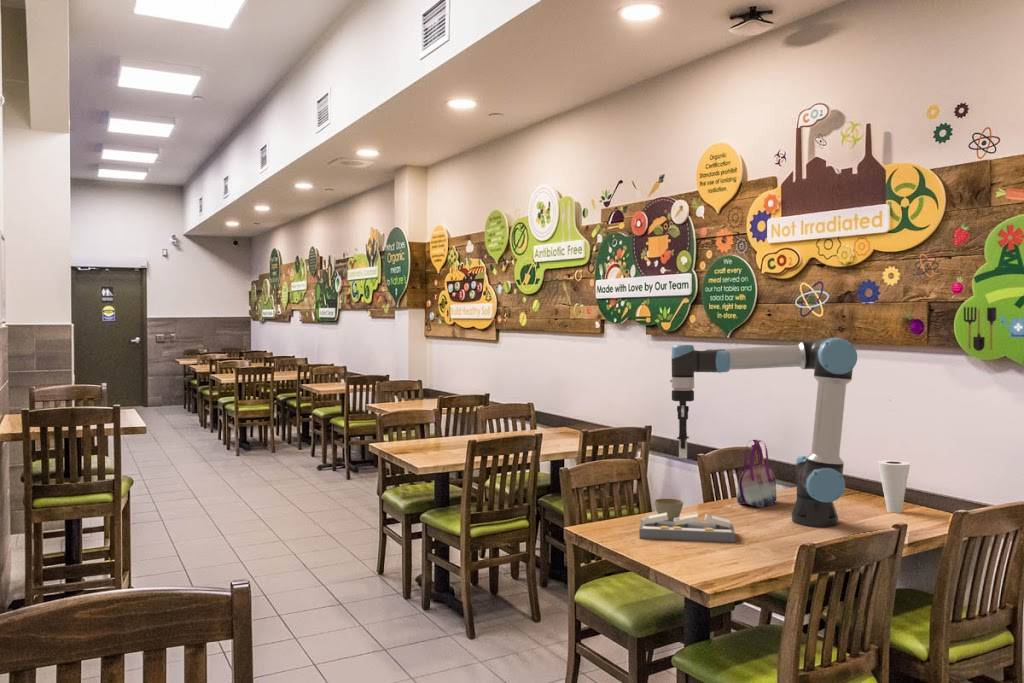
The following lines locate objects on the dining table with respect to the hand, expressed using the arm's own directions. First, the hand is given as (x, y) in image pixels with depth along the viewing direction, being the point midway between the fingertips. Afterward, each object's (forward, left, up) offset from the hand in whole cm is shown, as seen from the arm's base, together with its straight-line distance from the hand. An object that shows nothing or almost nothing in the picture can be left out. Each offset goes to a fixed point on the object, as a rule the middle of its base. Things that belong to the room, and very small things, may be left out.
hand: (683, 457), depth 258 cm
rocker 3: (-11, +10, -19) cm, 24 cm away
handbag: (-28, -41, -24) cm, 55 cm away
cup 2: (-76, -36, -24) cm, 87 cm away
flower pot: (+5, -8, -24) cm, 26 cm away
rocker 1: (+9, +10, -19) cm, 23 cm away
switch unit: (-1, +11, -24) cm, 26 cm away
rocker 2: (-1, +10, -19) cm, 22 cm away
